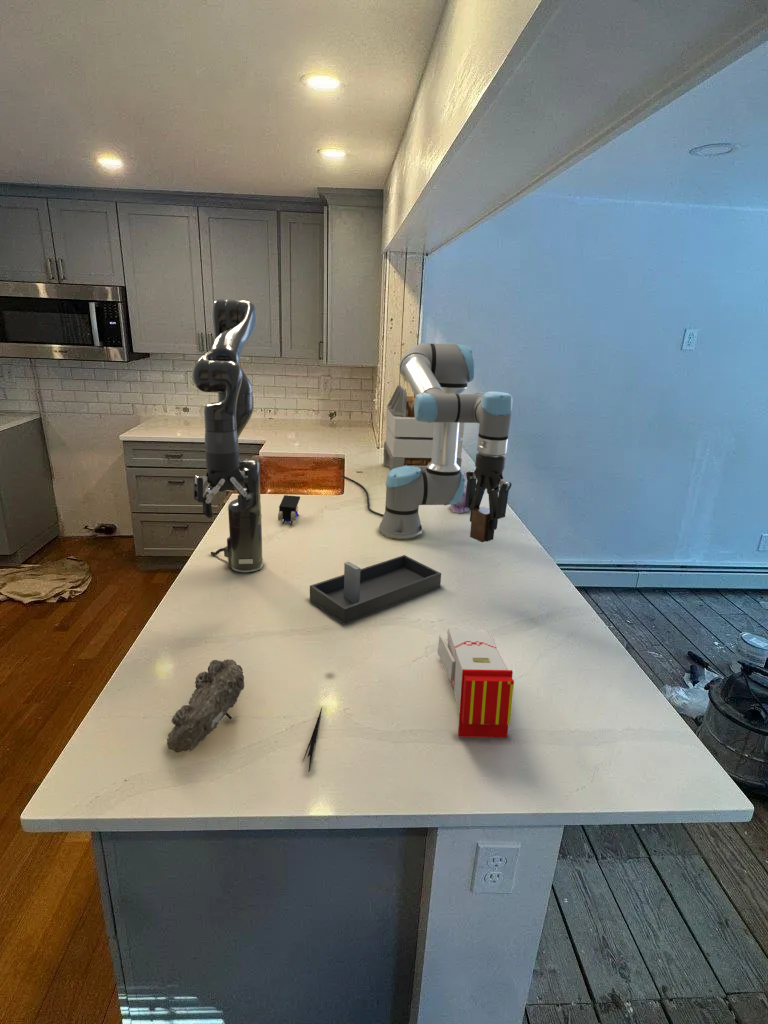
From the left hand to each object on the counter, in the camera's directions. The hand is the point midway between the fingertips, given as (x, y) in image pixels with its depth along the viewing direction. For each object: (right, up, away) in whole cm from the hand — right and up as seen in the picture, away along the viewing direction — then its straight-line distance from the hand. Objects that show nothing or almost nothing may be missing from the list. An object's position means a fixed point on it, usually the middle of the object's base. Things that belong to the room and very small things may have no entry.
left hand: (225, 513), depth 138 cm
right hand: (+65, -6, +16) cm, 67 cm away
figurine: (+69, +1, +89) cm, 113 cm away
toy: (+56, -37, -19) cm, 70 cm away
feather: (+26, -39, -29) cm, 56 cm away
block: (+65, -7, +16) cm, 67 cm away
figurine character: (+4, -3, +70) cm, 70 cm away
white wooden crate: (+56, +19, +137) cm, 149 cm away
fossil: (+6, -39, -30) cm, 49 cm away
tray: (+37, -22, +20) cm, 47 cm away
